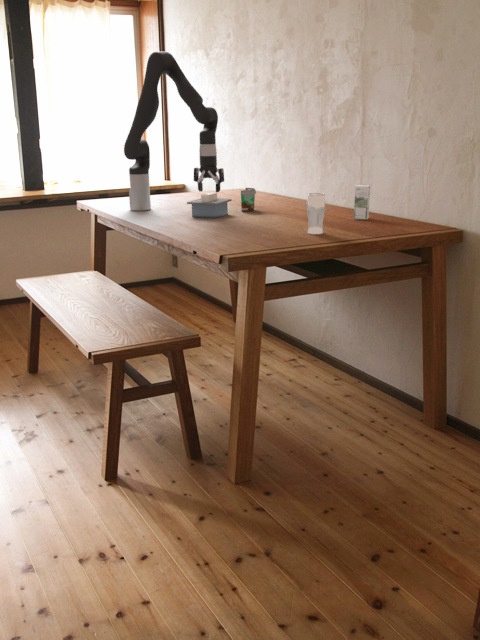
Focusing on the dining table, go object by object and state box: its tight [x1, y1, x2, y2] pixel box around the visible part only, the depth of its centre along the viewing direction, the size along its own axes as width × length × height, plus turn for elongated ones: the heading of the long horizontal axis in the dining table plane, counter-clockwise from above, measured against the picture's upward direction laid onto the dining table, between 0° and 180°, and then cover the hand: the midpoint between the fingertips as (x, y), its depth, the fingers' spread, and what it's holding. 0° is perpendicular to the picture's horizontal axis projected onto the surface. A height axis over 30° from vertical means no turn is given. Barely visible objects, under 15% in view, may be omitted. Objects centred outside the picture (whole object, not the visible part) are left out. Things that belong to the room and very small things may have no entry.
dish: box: [191, 202, 229, 219], centre depth 290 cm, size 12×12×6 cm
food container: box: [240, 187, 257, 213], centre depth 303 cm, size 12×6×10 cm, turn 168°
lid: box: [186, 192, 232, 205], centre depth 289 cm, size 15×15×4 cm
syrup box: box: [353, 183, 371, 221], centre depth 272 cm, size 6×6×14 cm
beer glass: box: [306, 192, 326, 236], centre depth 243 cm, size 7×7×15 cm
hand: (209, 191), depth 288 cm, fingers open, 8 cm apart
